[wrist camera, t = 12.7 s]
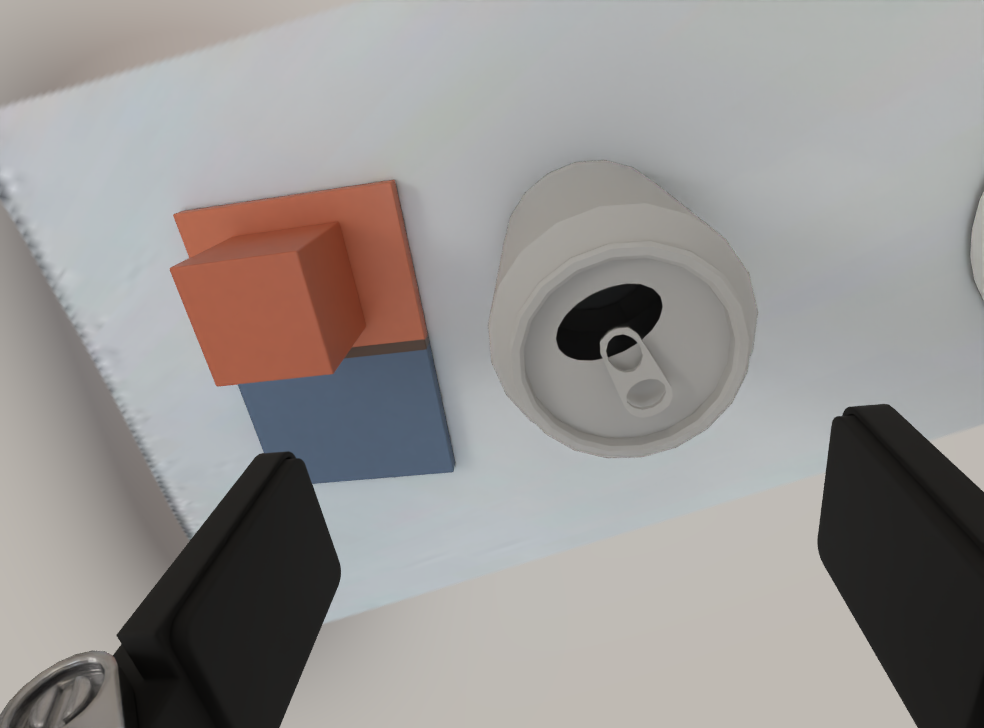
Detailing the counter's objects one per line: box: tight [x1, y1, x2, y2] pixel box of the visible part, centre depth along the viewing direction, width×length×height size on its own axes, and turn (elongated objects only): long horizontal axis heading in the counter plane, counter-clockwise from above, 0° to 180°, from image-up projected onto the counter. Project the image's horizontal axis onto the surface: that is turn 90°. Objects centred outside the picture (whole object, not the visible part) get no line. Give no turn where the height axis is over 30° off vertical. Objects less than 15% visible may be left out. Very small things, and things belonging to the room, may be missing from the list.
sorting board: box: [173, 180, 455, 484], centre depth 28 cm, size 10×15×1 cm, turn 9°
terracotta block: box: [170, 222, 366, 386], centre depth 24 cm, size 5×5×5 cm
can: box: [488, 160, 758, 458], centre depth 20 cm, size 8×8×12 cm
